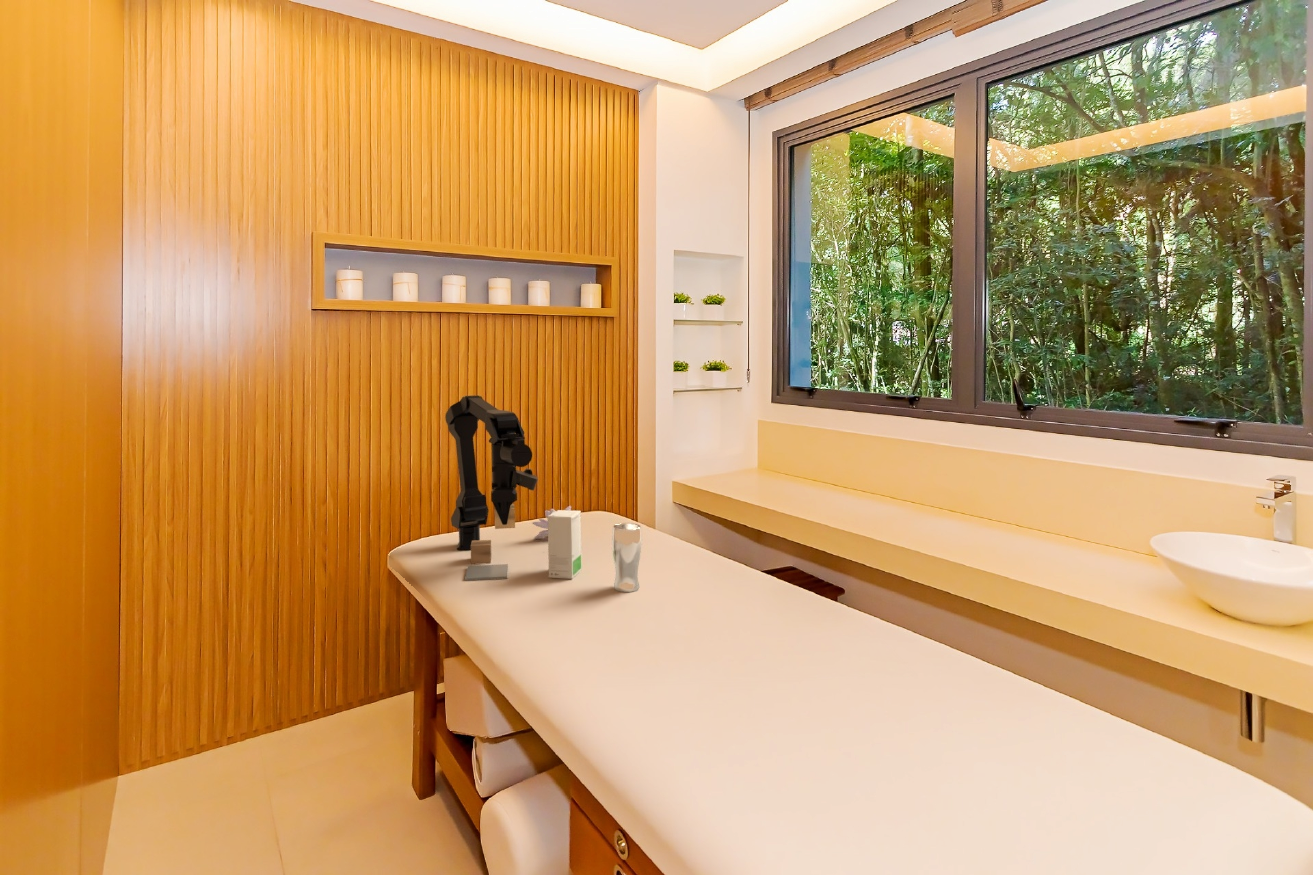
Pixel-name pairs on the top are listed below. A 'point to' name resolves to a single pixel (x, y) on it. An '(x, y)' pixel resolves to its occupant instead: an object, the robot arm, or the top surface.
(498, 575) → the slate coaster
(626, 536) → the beer glass
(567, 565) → the skincare box
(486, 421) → the robot arm
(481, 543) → the walnut cube
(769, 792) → the top surface
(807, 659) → the top surface
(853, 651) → the top surface
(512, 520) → the oak cube
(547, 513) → the water lily
